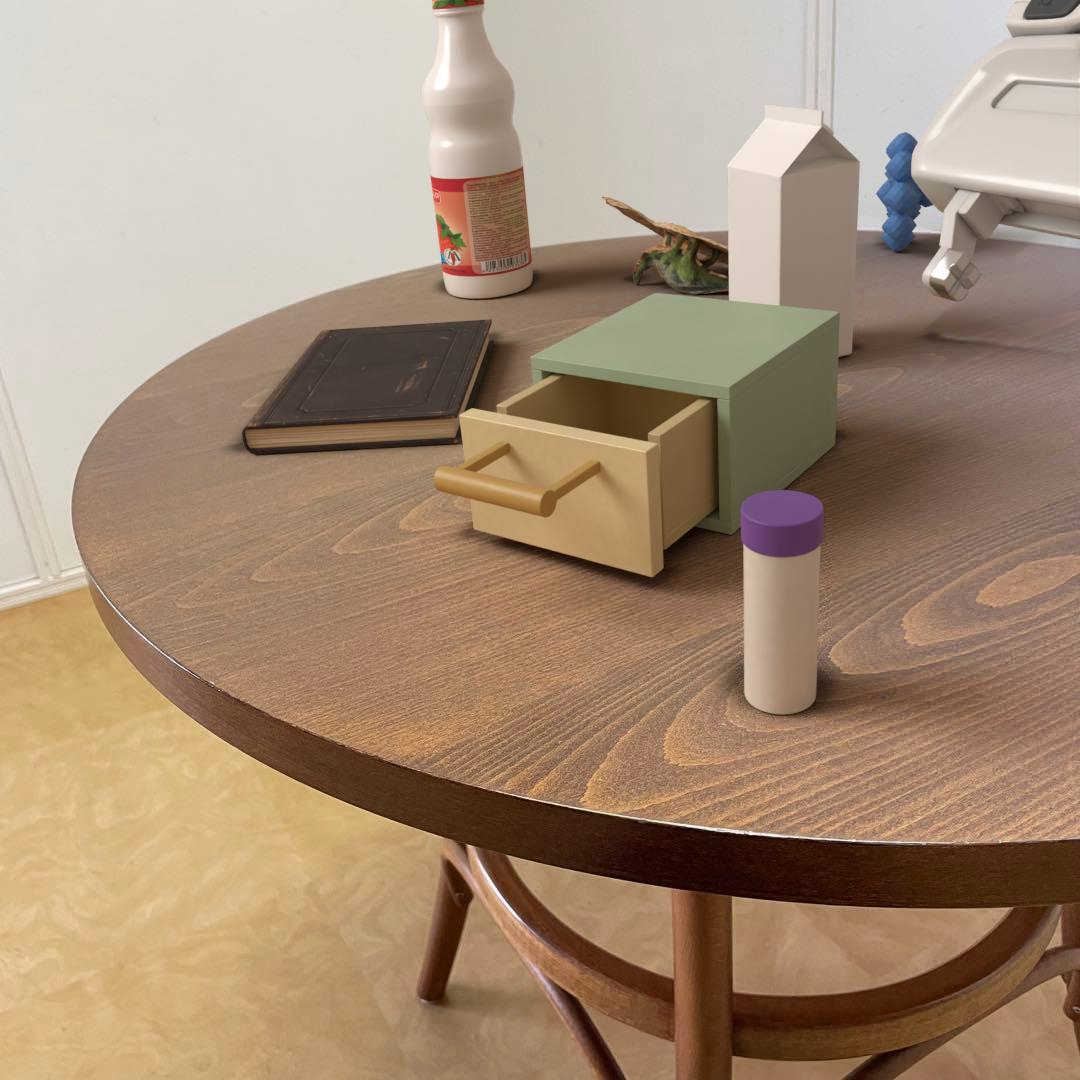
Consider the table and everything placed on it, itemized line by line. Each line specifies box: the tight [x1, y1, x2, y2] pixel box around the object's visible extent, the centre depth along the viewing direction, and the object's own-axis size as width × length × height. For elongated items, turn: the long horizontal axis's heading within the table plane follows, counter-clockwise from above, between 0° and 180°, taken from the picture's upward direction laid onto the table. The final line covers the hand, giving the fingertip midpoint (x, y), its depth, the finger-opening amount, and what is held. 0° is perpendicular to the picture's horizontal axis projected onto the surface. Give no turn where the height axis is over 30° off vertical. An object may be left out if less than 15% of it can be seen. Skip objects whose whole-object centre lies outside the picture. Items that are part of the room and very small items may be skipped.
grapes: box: [875, 131, 934, 253], centre depth 114 cm, size 12×7×12 cm, turn 164°
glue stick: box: [740, 489, 825, 716], centre depth 49 cm, size 3×3×10 cm
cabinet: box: [529, 292, 840, 536], centre depth 72 cm, size 15×14×9 cm
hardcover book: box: [241, 318, 495, 455], centre depth 92 cm, size 16×23×2 cm
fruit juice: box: [421, 0, 534, 300], centre depth 112 cm, size 9×9×28 cm
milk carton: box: [727, 103, 861, 358], centre depth 88 cm, size 7×7×19 cm
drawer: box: [433, 373, 719, 578], centre depth 64 cm, size 19×12×7 cm, turn 143°
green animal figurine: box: [601, 196, 729, 296], centre depth 112 cm, size 18×14×8 cm
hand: (1016, 313), depth 49 cm, fingers open, 8 cm apart
